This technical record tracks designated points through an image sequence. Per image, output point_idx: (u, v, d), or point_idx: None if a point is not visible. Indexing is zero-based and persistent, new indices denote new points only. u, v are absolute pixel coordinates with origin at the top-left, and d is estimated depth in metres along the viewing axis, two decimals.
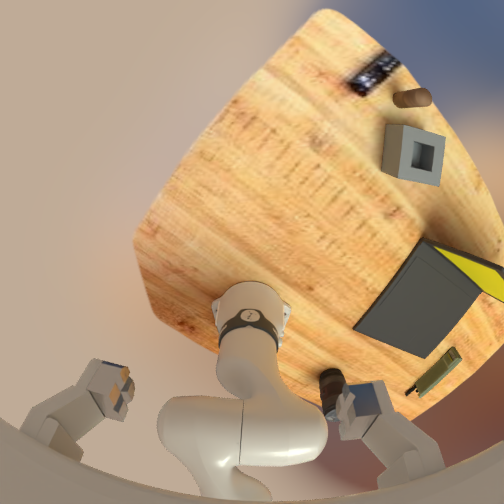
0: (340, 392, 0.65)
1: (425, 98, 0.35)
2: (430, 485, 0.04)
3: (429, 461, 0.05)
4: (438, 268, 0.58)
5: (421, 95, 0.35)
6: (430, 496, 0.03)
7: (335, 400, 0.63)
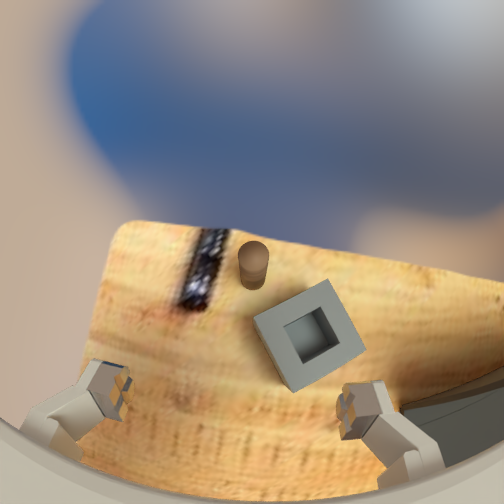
0: None
1: (256, 255, 0.32)
2: (430, 485, 0.04)
3: (429, 461, 0.05)
4: (449, 410, 0.32)
5: (247, 256, 0.32)
6: (430, 496, 0.03)
7: None
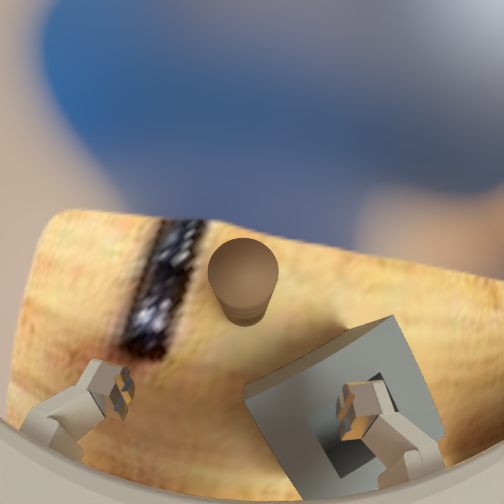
0: None
1: (249, 271, 0.14)
2: (430, 485, 0.04)
3: (429, 461, 0.05)
4: None
5: (230, 273, 0.14)
6: (430, 496, 0.03)
7: None
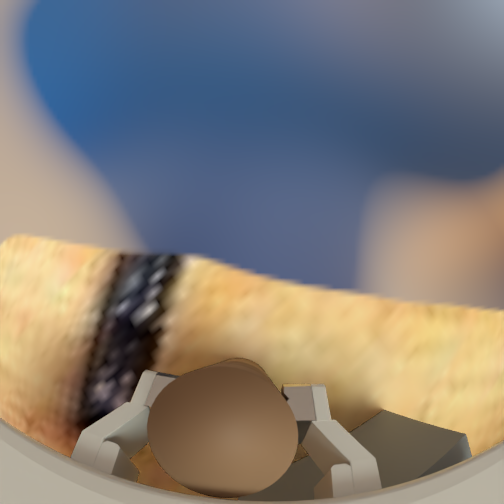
0: None
1: (235, 442, 0.05)
2: (430, 485, 0.04)
3: (362, 478, 0.05)
4: None
5: (193, 443, 0.05)
6: (430, 496, 0.03)
7: None
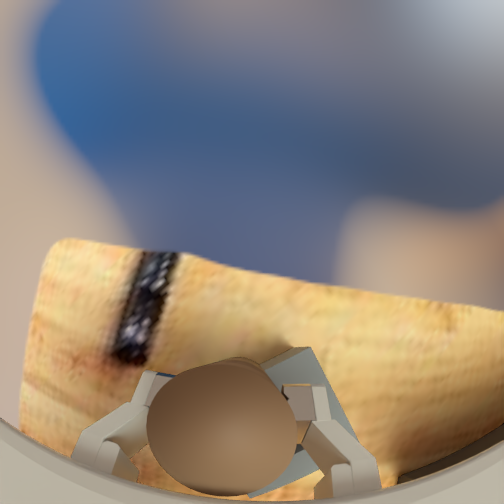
0: None
1: (233, 440, 0.05)
2: (430, 485, 0.04)
3: (362, 478, 0.05)
4: None
5: (192, 441, 0.05)
6: (430, 496, 0.03)
7: None
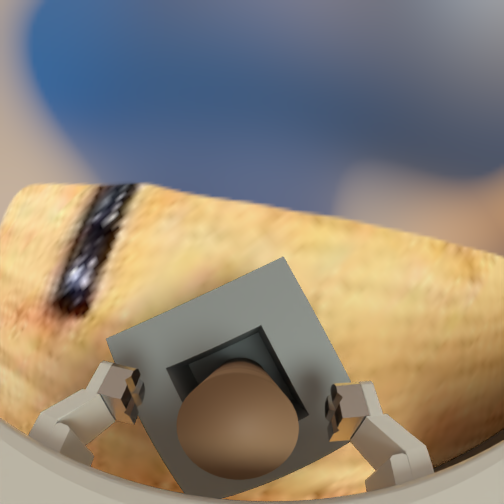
0: None
1: (248, 433, 0.07)
2: (430, 485, 0.04)
3: (417, 465, 0.05)
4: None
5: (215, 436, 0.07)
6: (430, 496, 0.03)
7: None
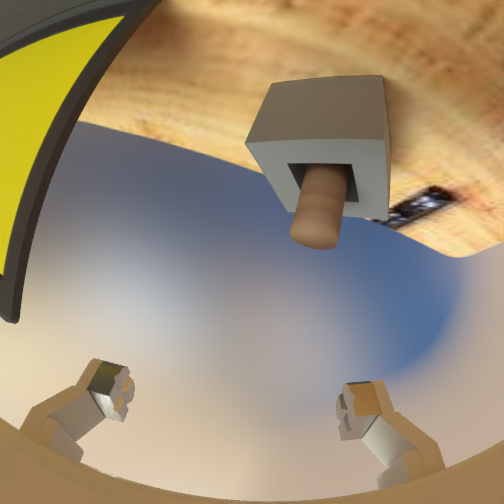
0: None
1: (309, 237, 0.20)
2: (430, 485, 0.04)
3: (429, 461, 0.05)
4: None
5: (322, 240, 0.19)
6: (430, 496, 0.03)
7: None
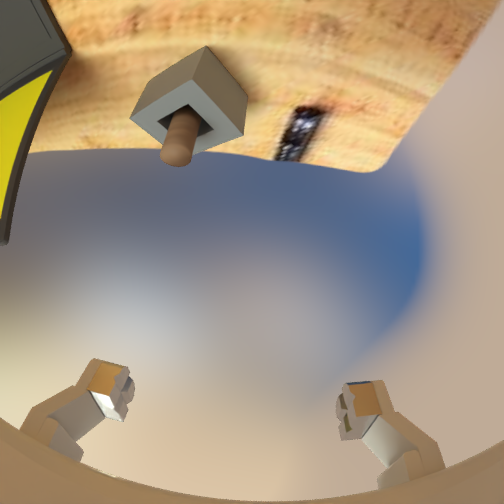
0: None
1: (172, 157, 0.28)
2: (430, 485, 0.04)
3: (429, 461, 0.05)
4: (16, 64, 0.21)
5: (180, 156, 0.28)
6: (430, 496, 0.03)
7: None
